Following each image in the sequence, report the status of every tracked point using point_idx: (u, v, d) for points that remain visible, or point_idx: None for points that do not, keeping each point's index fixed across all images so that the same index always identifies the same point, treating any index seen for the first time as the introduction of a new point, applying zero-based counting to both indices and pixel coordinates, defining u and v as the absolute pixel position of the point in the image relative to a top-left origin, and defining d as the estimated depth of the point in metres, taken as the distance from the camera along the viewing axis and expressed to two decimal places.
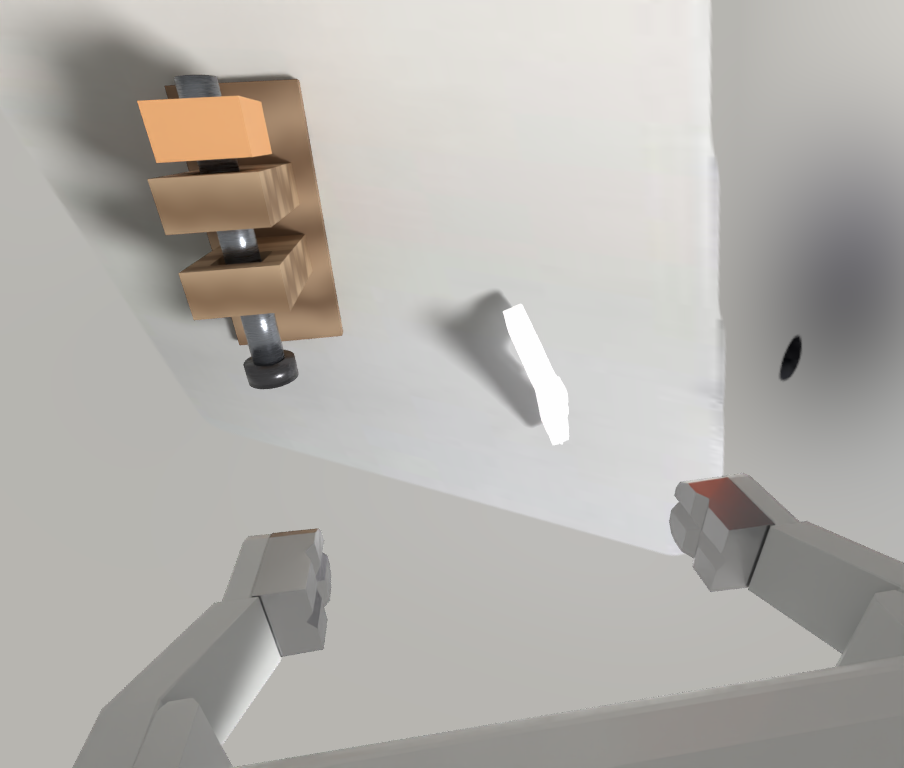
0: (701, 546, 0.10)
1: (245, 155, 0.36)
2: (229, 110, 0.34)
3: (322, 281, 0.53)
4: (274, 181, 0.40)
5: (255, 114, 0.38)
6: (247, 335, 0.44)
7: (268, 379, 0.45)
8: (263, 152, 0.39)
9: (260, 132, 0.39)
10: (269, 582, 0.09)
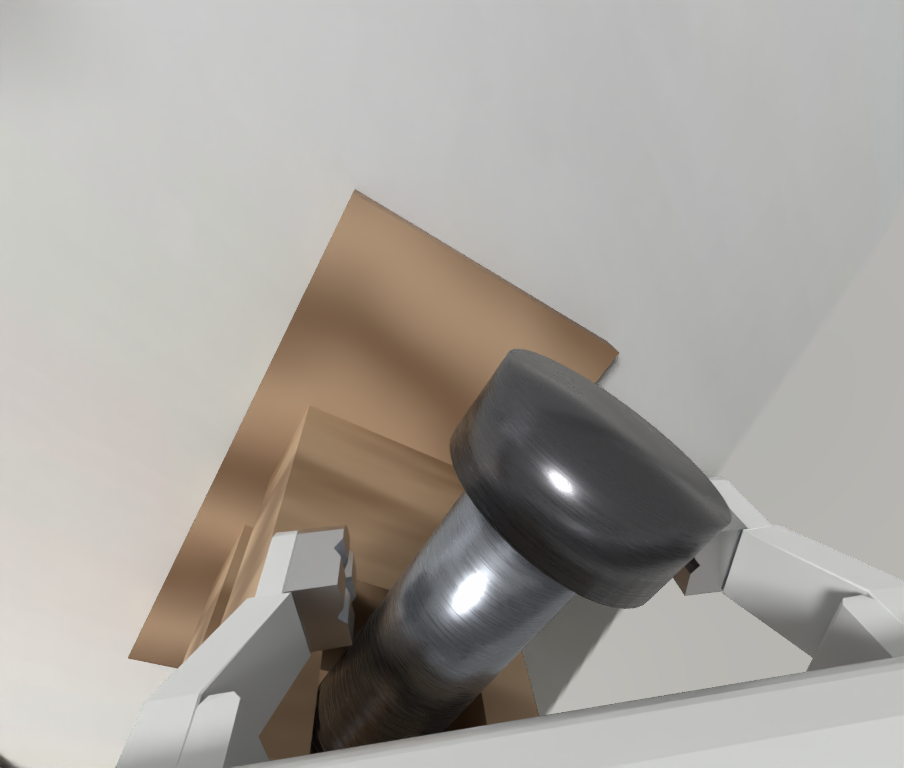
0: None
1: None
2: None
3: (303, 370, 0.18)
4: None
5: None
6: None
7: (630, 555, 0.07)
8: None
9: None
10: (301, 578, 0.09)
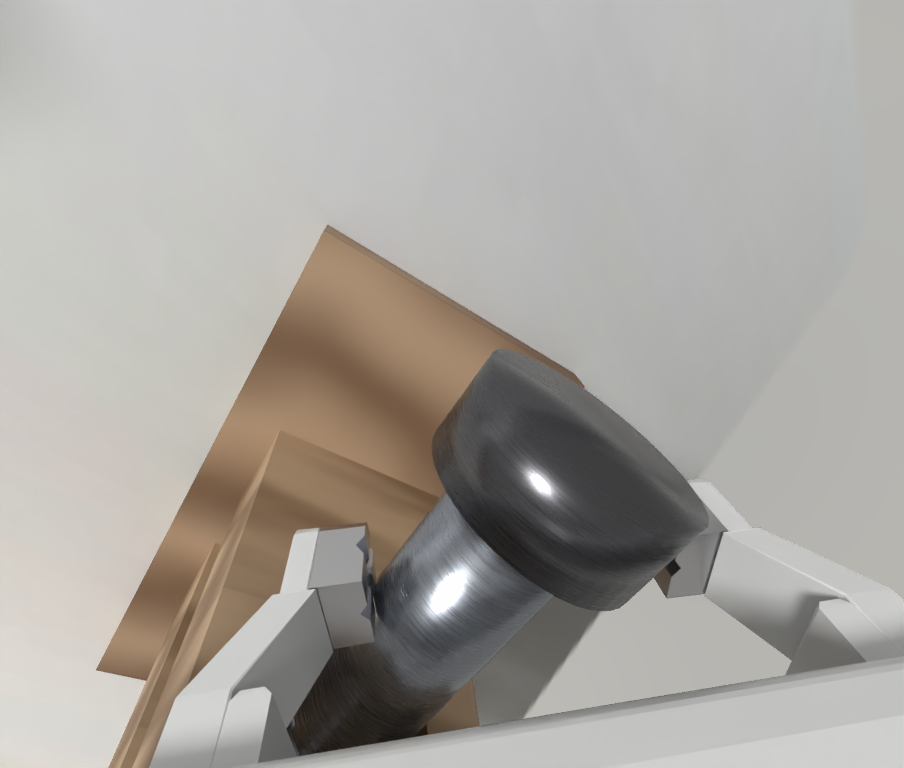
0: None
1: None
2: None
3: (273, 396, 0.18)
4: None
5: None
6: (495, 653, 0.10)
7: (606, 557, 0.07)
8: None
9: None
10: (325, 574, 0.09)
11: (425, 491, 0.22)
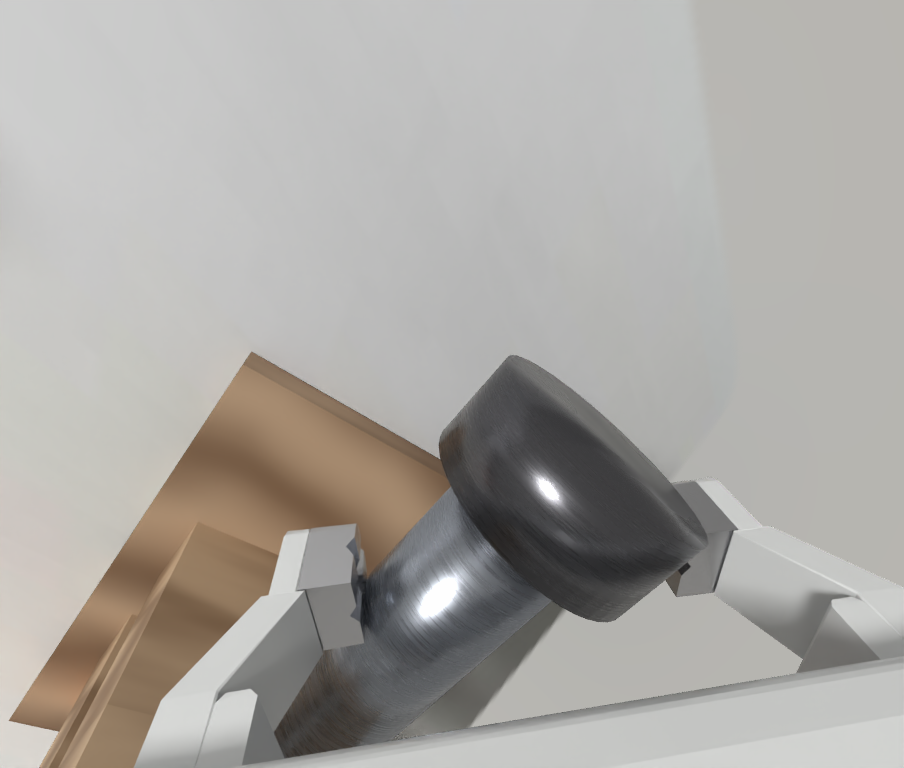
0: None
1: None
2: None
3: (192, 494, 0.20)
4: None
5: None
6: (483, 659, 0.10)
7: (611, 568, 0.07)
8: None
9: None
10: (314, 576, 0.09)
11: None
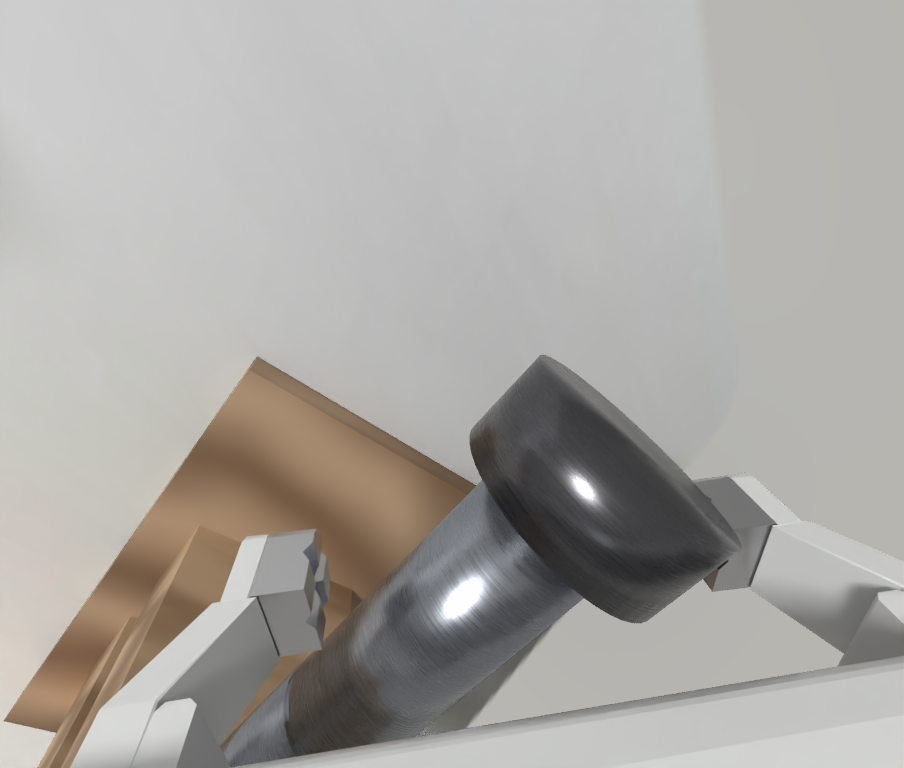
0: None
1: None
2: None
3: (195, 497, 0.20)
4: None
5: None
6: (506, 659, 0.10)
7: (650, 570, 0.07)
8: None
9: None
10: (268, 583, 0.09)
11: (335, 582, 0.23)
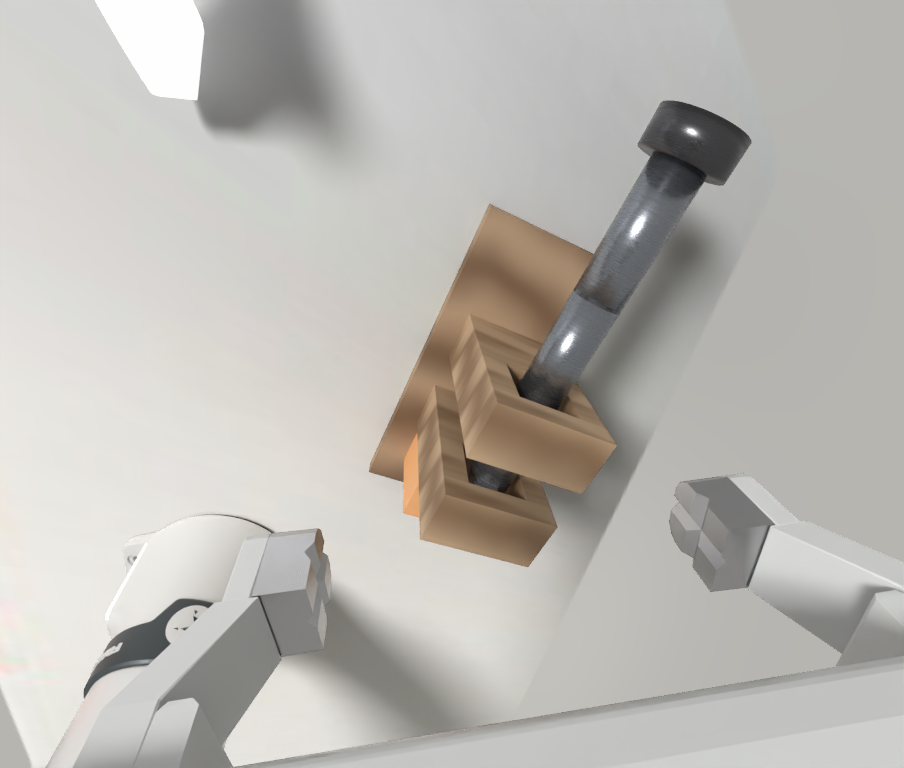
0: (701, 546, 0.10)
1: None
2: (417, 508, 0.38)
3: (467, 295, 0.37)
4: (424, 480, 0.34)
5: (408, 471, 0.41)
6: (669, 233, 0.25)
7: (715, 144, 0.22)
8: None
9: (413, 458, 0.41)
10: (269, 583, 0.09)
11: None
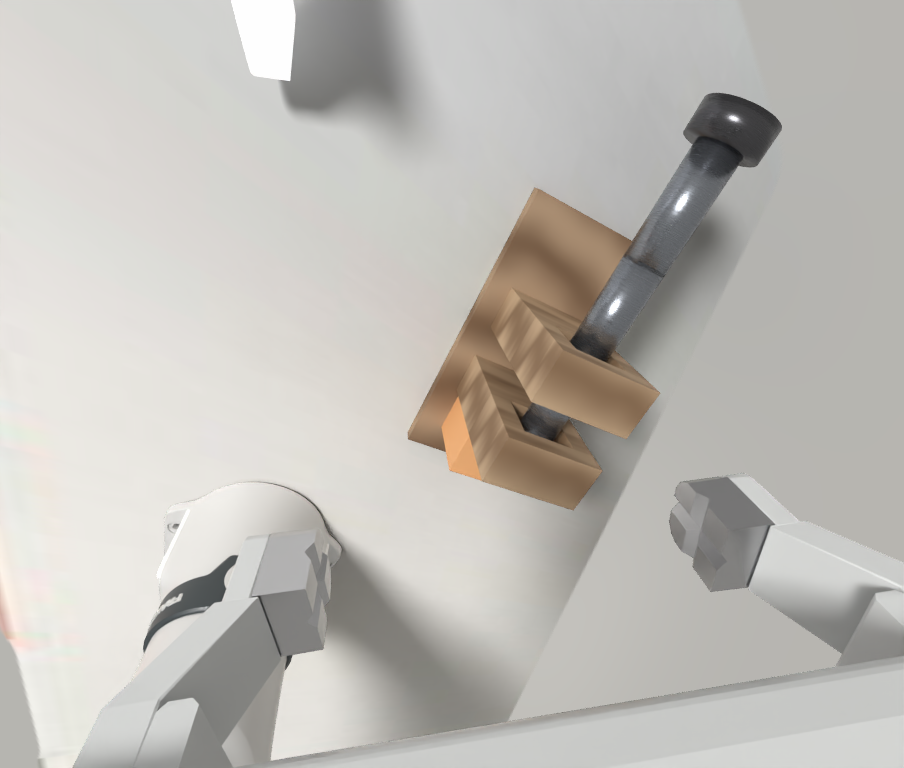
0: (701, 546, 0.10)
1: None
2: (462, 465, 0.41)
3: (510, 270, 0.41)
4: (477, 433, 0.37)
5: (449, 435, 0.44)
6: (709, 207, 0.29)
7: (755, 129, 0.26)
8: (462, 413, 0.43)
9: (454, 423, 0.44)
10: (269, 582, 0.09)
11: (576, 318, 0.44)
